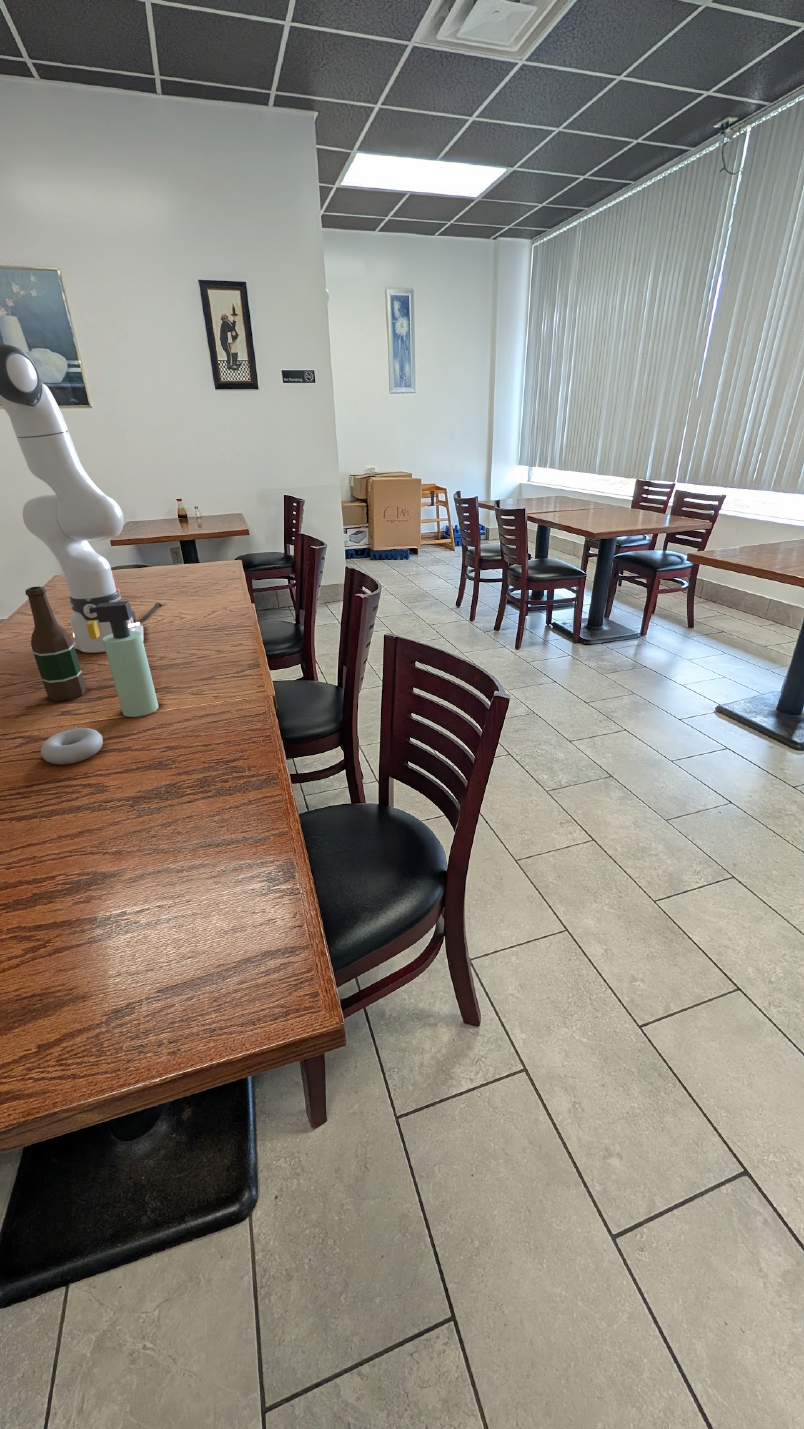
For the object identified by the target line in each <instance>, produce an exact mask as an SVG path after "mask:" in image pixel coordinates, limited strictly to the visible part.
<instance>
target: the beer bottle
mask: <svg viewBox="0 0 804 1429" xmlns="http://www.w3.org/2000/svg"><path fill="white" fill-rule="evenodd" d="M46 593H47V590H46V588H45V587H44V586H39V585H37V586H32V587H31V586H30V587H28V588H27V589H25V595H26V596H27V598H28V602H29V606H30V610H31V615H32V618H33V623H34V629H33V631H32V634H31V638H30V645H31V650H32V653H33V657H34V660H35V663H36V666H37V669H38V672H39V674H40V678H41V681H42V684H43V687H44V690H45V693H46V695H47V698H48V699H50V700H52V701H54V702H62V701H71V700H74V699H76V698H79V697H81V696H83V694H84V693H85V692H86V691H87V687H86V683H85V679H84V674H83V672H82V671H83V670H82V669H81V665H80V661H79V659H78V655H77V652H76V649H75V648H74V645H73V642H74V641H73V640H72V638H71V635H70V634H69V632H68V631H67V630H66V629H65V628H64V627H62V625H60V624H59V623H58V621H57V619H56V617H55V614H54V612H53V610H52V607H51V605H50V602H49V599H48V596H47V594H46Z"/></svg>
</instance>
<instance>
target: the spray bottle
mask: <svg viewBox="0 0 804 1429" xmlns="http://www.w3.org/2000/svg"><path fill="white" fill-rule="evenodd" d="M89 611H90V613H97V617H98V620H99V623H102V622H110V625H111V629H112V633H113V634H110V635H107V636H105V637H104V638H103V643H104V646H105V650H106V652H105V653H106V657H107V661H108V664H109V668H110V672H111V676H112V679H113V682H114V688H115V691H116V695H117V698H118V701H119V706H120V708H121V713H122V715H123V716H125V717H127V718H137V717H138V718H140V717H143V716H147V715H150V714H152V713H154V712H156V711H157V710H158V709H159V702H158V698H157V694H156V690H155V685H154V682H153V678H152V672H151V668H150V666H149V664H150V663H149V661H148V656H147V653H146V648H145V645H144V644H145V643H144V641H143V639H142V635H141V633H140V632H138V631H129V628H128V624H127V620H130V619H131V617H132V616H133V614H132V611H133V610H132V607H131V602H130V600H122V601H121V602H108V603H99V604H98V605H97V606H96V607H94V608H89Z"/></svg>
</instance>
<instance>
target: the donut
mask: <svg viewBox="0 0 804 1429" xmlns="http://www.w3.org/2000/svg"><path fill="white" fill-rule="evenodd" d="M103 740H104V739H103V736H102V734H101V733H100V732H98V731H97V730H96V729H93V728H89V727H77V728H71V729H65V730H62V731H59V732H58V733H55V734H53V735H51V736H50V737H48V738H47V739H45V741H44V742H43V743H42V745H41V748H40V755H41V757H42V758H43V759H44V760H45V761H46V762H47V763H50V764H53V765H62V766H63V765H72V764H76V763H80V762H82V761H86V760H87V759H89V758H92V757H94V756H95V755H96V754H97V753H98V752H99V751H100V750H101V749H102V747H103V745H104V741H103Z"/></svg>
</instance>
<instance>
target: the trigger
mask: <svg viewBox="0 0 804 1429" xmlns="http://www.w3.org/2000/svg"><path fill="white" fill-rule="evenodd" d="M86 625H87V629H88V632H89V636H90V639H97V638H98V637H99V636H100V633H99V629H98V625H97V622H96V620H95V621H89V622H88V623H87V624H86Z"/></svg>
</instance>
